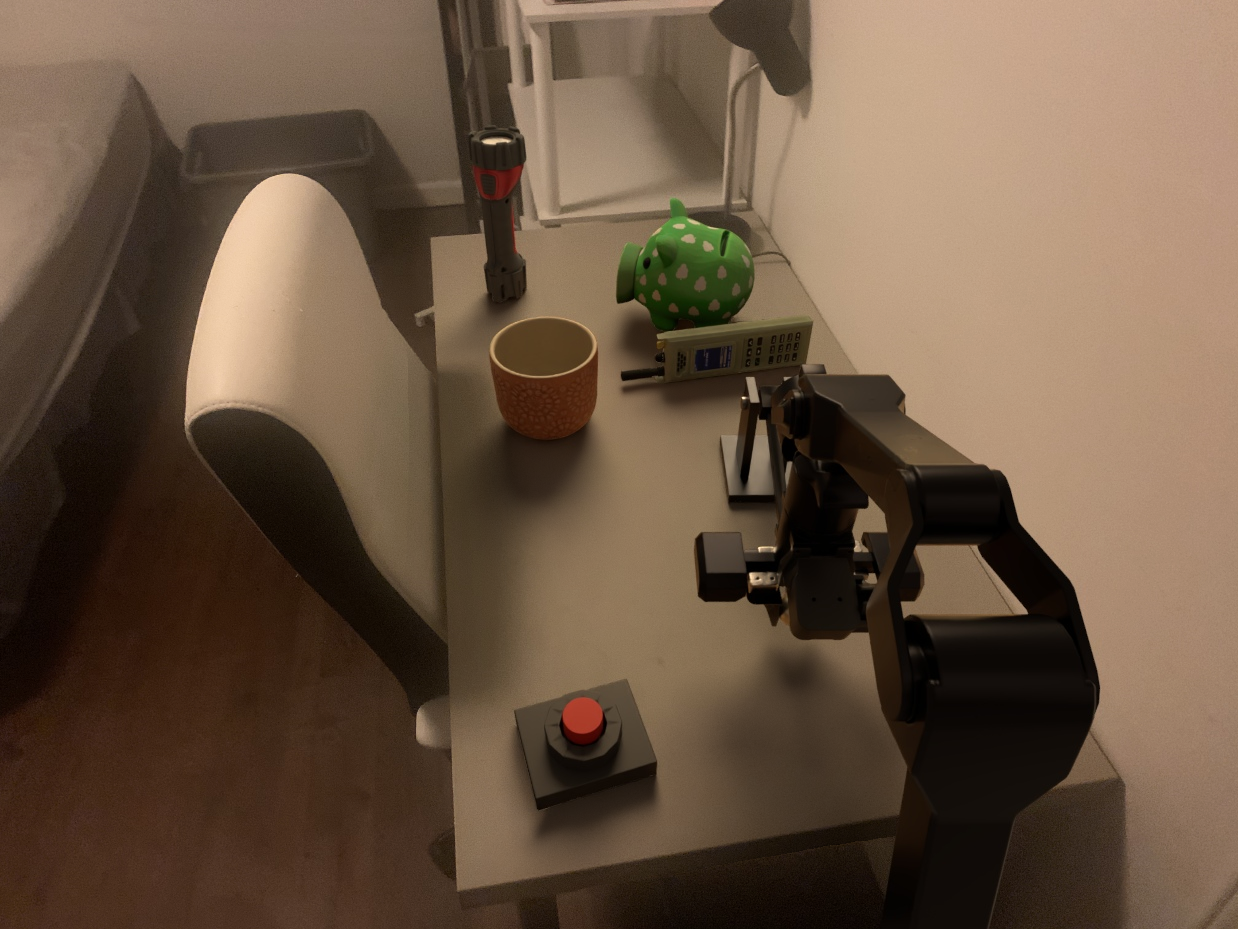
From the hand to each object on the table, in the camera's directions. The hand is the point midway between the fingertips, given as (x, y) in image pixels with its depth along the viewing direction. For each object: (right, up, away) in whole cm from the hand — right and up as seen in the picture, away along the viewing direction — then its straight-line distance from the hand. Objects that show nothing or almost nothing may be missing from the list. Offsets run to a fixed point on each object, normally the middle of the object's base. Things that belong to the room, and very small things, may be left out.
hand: (791, 622), depth 74 cm
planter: (-25, +20, +24) cm, 40 cm away
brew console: (-19, -9, -7) cm, 22 cm away
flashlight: (-32, +41, +47) cm, 70 cm away
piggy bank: (-7, +35, +41) cm, 54 cm away
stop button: (-19, -7, -10) cm, 22 cm away
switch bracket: (0, +14, +17) cm, 22 cm away
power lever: (0, +10, +6) cm, 12 cm away
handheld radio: (-4, +27, +31) cm, 41 cm away
